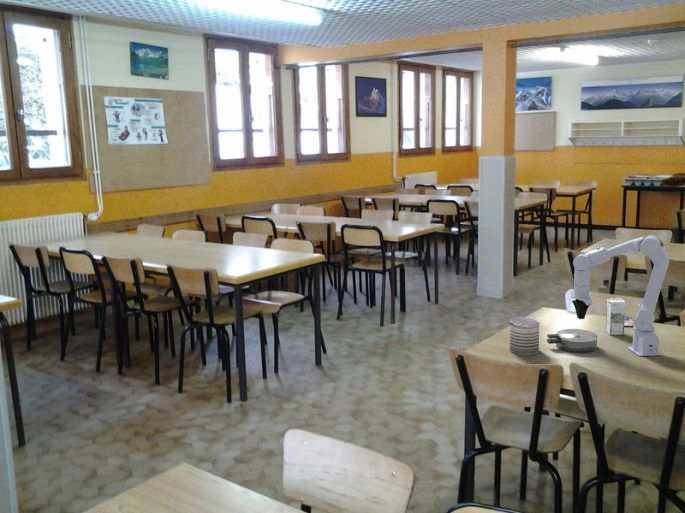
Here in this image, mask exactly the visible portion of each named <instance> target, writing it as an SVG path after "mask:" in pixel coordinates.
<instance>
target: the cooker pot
mask: <svg viewBox="0 0 685 513" xmlns="http://www.w3.org/2000/svg"><path fill="white" fill-rule="evenodd" d="M546 342H547V343H548V344H549V345H551V344H553V345H554V344H555V347H556V348H557V349H559V350H560V349H561V350H560V351H563V352H567V353H573V354H590V353H593V352H595V351H597V348H598V339H597V340H595V341H593V342H588V343H574V342H568V341H564V340H561V339H559V338H552V339H549V338H547V339H546Z"/></svg>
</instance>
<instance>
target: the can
mask: <svg viewBox="0 0 685 513" xmlns="http://www.w3.org/2000/svg"><path fill="white" fill-rule="evenodd" d="M508 322H509V325H510V326H509V351H510V352H511V351H512V352H511V353H513V352H514V353H513V354H515V353H517V354H516V355H520V354H523V355H522V356H531V355H530V354H534V355H536V354H538V352H540V351H539V350H540V348H539V347H540V324H541V322H540V321H538V320H536V319H535V318H531V317H525V316H516V317H510V319H509V320H508ZM535 353H536V354H535Z"/></svg>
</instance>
